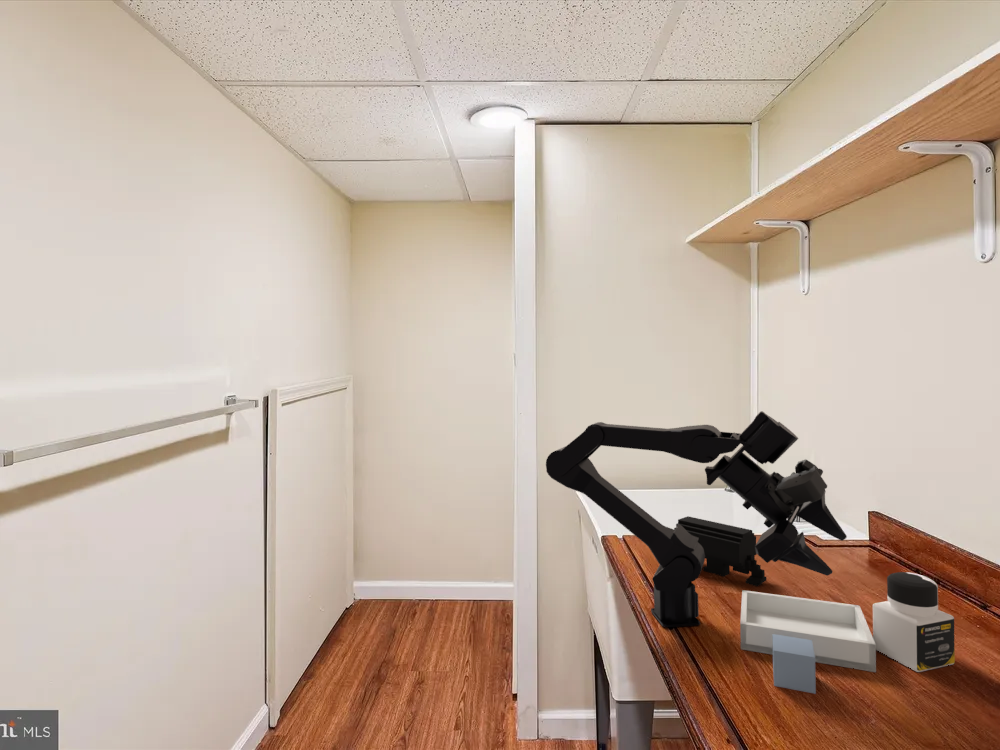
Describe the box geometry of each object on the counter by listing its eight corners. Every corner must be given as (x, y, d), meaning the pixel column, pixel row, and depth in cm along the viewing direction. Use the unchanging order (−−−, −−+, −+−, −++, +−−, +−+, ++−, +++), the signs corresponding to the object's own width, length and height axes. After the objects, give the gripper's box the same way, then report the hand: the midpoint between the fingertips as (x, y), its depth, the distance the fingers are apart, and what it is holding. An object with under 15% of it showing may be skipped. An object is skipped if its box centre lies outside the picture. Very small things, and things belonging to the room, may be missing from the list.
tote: (740, 649, 87) (740, 623, 86) (742, 612, 99) (742, 590, 99) (876, 672, 79) (875, 644, 79) (859, 629, 92) (859, 605, 91)
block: (774, 686, 77) (773, 650, 77) (773, 667, 81) (772, 633, 81) (815, 694, 75) (815, 657, 75) (812, 675, 79) (811, 640, 79)
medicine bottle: (918, 673, 79) (917, 589, 78) (872, 649, 86) (871, 571, 85) (956, 665, 81) (955, 582, 80) (907, 641, 87) (907, 565, 87)
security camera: (755, 590, 108) (754, 539, 108) (671, 565, 122) (670, 520, 122) (772, 581, 112) (771, 531, 112) (689, 558, 127) (688, 514, 126)
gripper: (765, 486, 79) (864, 569, 75) (802, 429, 92) (889, 497, 87) (720, 524, 87) (807, 602, 82) (760, 467, 99) (837, 531, 95)
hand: (837, 555), depth 86 cm, fingers open, 9 cm apart
